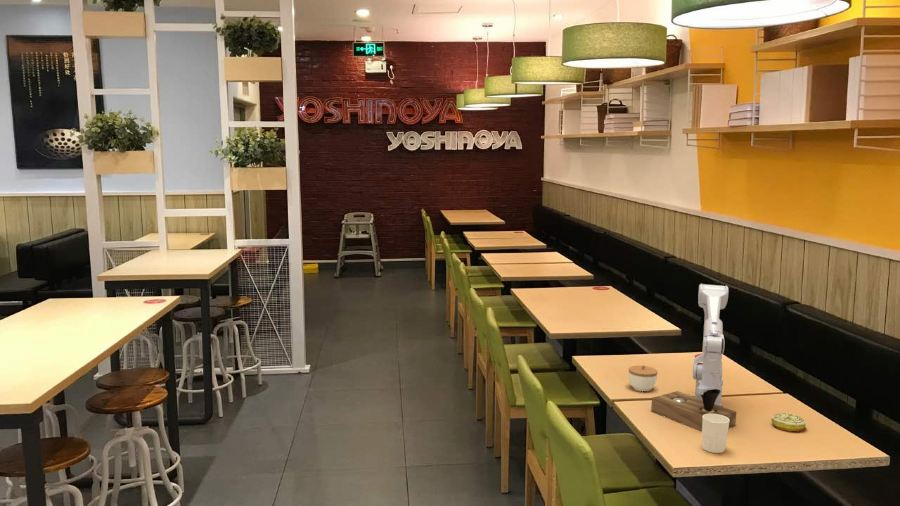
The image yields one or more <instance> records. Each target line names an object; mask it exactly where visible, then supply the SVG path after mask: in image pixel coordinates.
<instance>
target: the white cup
mask: <svg viewBox="0 0 900 506" xmlns="http://www.w3.org/2000/svg"><path fill="white" fill-rule="evenodd" d="M729 421H730V420H729V418H727V417H725V416H723V415H719V414H704V415H703V416H702V431H701V441H702V443H701V448H702V449H703V450H705V451H706V452H709V453H712V454H722V453H724V452H725V451H726V446H727V445H726V444H727V440H728V435H729V429H730V428H729Z"/></svg>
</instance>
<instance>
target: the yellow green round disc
mask: <svg viewBox="0 0 900 506" xmlns="http://www.w3.org/2000/svg"><path fill="white" fill-rule="evenodd" d="M770 420H771V423H772V425H773V426H774V427H775V428H776V429H778V430H781V431H784V430H785V431H784V432H789V431H797V432H802V431H803V430H804V429H805V427H806V426H807V423H806V420H804V419H803V418H802V417H801V416H798V415H796V414H793V413H789V412H788V413H785V412H783V413H781V412H780V413H775V414H773V415H771V419H770Z"/></svg>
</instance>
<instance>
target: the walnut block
mask: <svg viewBox="0 0 900 506" xmlns="http://www.w3.org/2000/svg"><path fill="white" fill-rule="evenodd" d="M673 398H683V399H684V400H685V401H684V402H678V401H675V400H673ZM650 408H651V410H650V412H652V413H654V414H657V415H659V416H662V417H664V416H665V418H667V419H669V418H670V419H669V420H672V421H674V420H675V422H678V423H680V424H682V425H685V426H688V427H690V428H693V429H695V430H697V431H700V432H702V416H703V415H704V414H719V415H723V416H725V417H727V418H729V420H730V421H729V428H728V429H730V428H732V427H733V428H734V427H735V426H736V422H737V411H736V410H732V409H730V408H728V407H725V406H719V405H716V404H714V406H713V410H714V412H713V413H708V412H705V411H702V409H703V408H704V404H703V400H702V399H699V398H696V397H695V395H694V396H693V395H690V394H688V393H685V392H682V391H679V390H676V391H673V392H668V393H665V394H661V395H657V396H653V397H651V407H650Z"/></svg>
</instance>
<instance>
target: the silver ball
mask: <svg viewBox="0 0 900 506" xmlns="http://www.w3.org/2000/svg"><path fill="white" fill-rule="evenodd" d="M673 400H675V401H678V402H684V401H685V400H684V399H683V398H673Z"/></svg>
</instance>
